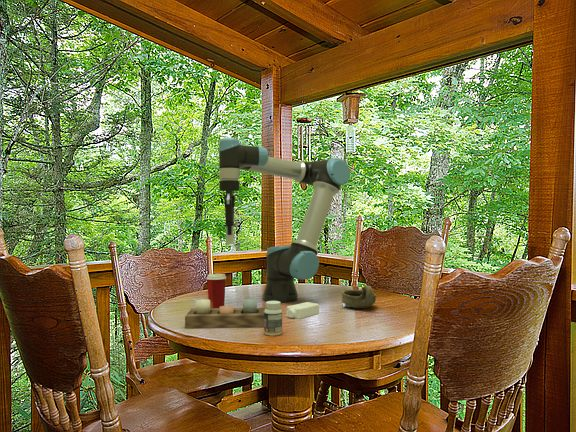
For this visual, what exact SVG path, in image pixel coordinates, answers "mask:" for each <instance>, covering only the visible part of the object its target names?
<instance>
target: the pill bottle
mask: <svg viewBox="0 0 576 432" xmlns="http://www.w3.org/2000/svg"><path fill="white" fill-rule="evenodd" d="M281 303H282V302H279V301H266V302H265V307H266V308H265V310H264V327H263V333H264V334H265V335H266V336H271V337H272V336H273V337H274V336H279V335H282V333H283V310H282V308H281V306H282V305H281Z"/></svg>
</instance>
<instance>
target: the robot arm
mask: <svg viewBox="0 0 576 432" xmlns="http://www.w3.org/2000/svg"><path fill="white" fill-rule="evenodd" d="M218 142H219V144H218V159H219V160H218V162H219V163H218V164H219V165H218V169H219V171H217V174H219V178H218V179H219V180H220V181H219V182H218V184H219V185H218V187H219V188H218V190H219V191H220V192H225V195H223V201H224V216H225V217H224V218H225V222H224V224H223V227H225V244H226V245H229V244H233V245H234V244H235V242H234V241H235V240H234V238H235V233H234V231H235V229H234V228H235V227H236V223H235V206H236V205H235V203H236V196H235V195H234V192H239V191H240V184H241V183H240V182H241V181H240V179H241V178H240V177H241V176H240V171H248V172H255V173H259V174H265V175H271V176H275V177H280V178H286V179H291V180H294V182H296V183H300V184H305V185H309V186H311V187H314V189H313V190H314V191H313V193H312V195H311V199H310V201H309V205H308V207H307V210H306V212H305V215H304V217H303V220H302V223H301V226H300V229H299V232H298V234H297V237H296V239H295V240H294V241H292V242H291V243H290V245H279V246H271V247H268V248H267V249H266V283H265V284H266V285H265V287H264V289H263V294H262V300H264V301H266V302H267V301H279V302H281V303H288V302H294V301H297V300H298V299H299V298H298V297H299V294H298V290H297V287H296V284H295V280H294V279H296V280H299V281H300V280H302V281H303V280H304V281H305V280H309V279H311V278H312V277H314V276H315V275H316V273H317V272H318V269H319V267H320V261H319V256H318V254H319V250H318V248H317V244H318V242H319V239H320V236H321V233H322V231H323V228H324V224H325V222H326V219H327V216H328V214H329V210H330V208H331V204H332V202H333V199H334V198H335V197H334V196H335V195H337V194H339V193H340V190H341V187H342V186H344V185H346V184H348V182H349V180H350V175H351V173H350V171H351V170H350V168H349V165H348V164H347V162H346V161H345V160H344V159H343V158H339V157H331V158H327V159H320V160H312V161H303V160H298V161H292V160H288V159H282V158H278V157H272V156H269V151H268V149H267V148H266V147H264V146H259V145H257V146H255V145H244V144H241V143H240V140H239V139H238V138H235V137H224V138H221V139H220V140H219V141H218Z"/></svg>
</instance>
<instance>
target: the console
mask: <svg viewBox="0 0 576 432" xmlns="http://www.w3.org/2000/svg"><path fill="white" fill-rule="evenodd" d="M265 309H266V308H265V307H257V313H243V307H234V314H220V308H210V314H196V308H190V310H189V311H188V313H187V314H185V316H184V329H230V328H231V329H235V328H236V329H237V328H239V329H240V328H241V329H242V328H243V329H244V328H246V329H248V328H264V310H265Z"/></svg>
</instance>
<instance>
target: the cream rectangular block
mask: <svg viewBox="0 0 576 432" xmlns="http://www.w3.org/2000/svg"><path fill="white" fill-rule="evenodd" d="M285 313H286V317H287V318H290V319H294V320H295V319H296V320H302V319H305V318H309V317H313V316H316V315H319V314H320V305H319V303H315V302H309V301H305V302H301V303H296V304H292V305H287V306H286V312H285Z"/></svg>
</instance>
